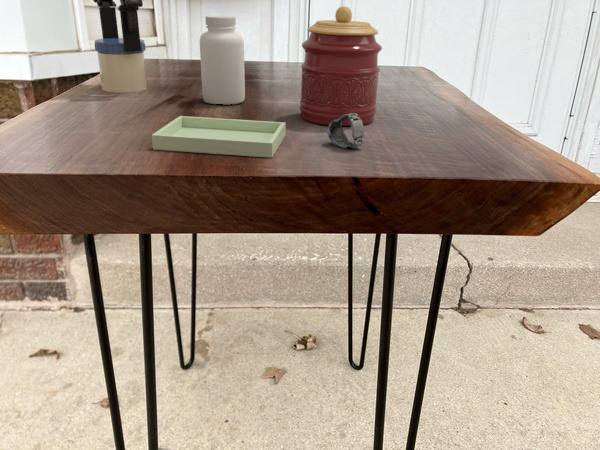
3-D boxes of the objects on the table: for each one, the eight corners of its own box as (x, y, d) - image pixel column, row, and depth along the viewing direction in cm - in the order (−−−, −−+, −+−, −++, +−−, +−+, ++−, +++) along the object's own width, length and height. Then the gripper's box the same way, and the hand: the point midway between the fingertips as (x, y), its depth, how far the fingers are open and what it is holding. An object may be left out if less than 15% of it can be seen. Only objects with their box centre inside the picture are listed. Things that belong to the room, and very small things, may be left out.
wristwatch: (352, 153, 76) (336, 124, 77) (372, 136, 72) (354, 105, 72) (337, 159, 74) (320, 129, 75) (355, 142, 70) (338, 110, 71)
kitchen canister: (384, 127, 85) (396, 9, 78) (305, 127, 83) (309, 7, 76) (364, 109, 97) (373, 5, 89) (294, 109, 95) (297, 3, 88)
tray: (152, 149, 70) (151, 134, 69) (180, 128, 80) (179, 115, 80) (272, 157, 69) (272, 143, 68) (285, 135, 79) (285, 122, 78)
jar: (95, 102, 96) (87, 44, 91) (115, 93, 103) (108, 40, 99) (137, 104, 95) (132, 46, 91) (154, 96, 102) (150, 42, 98)
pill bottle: (194, 100, 100) (189, 14, 93) (228, 95, 105) (226, 14, 98) (218, 107, 94) (215, 18, 88) (253, 102, 99) (253, 17, 93)
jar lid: (86, 52, 92) (85, 41, 91) (108, 46, 99) (107, 37, 99) (133, 54, 91) (132, 44, 90) (152, 48, 99) (151, 39, 98)
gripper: (61, -93, 91) (81, 42, 101) (106, -106, 76) (124, 56, 85) (104, -89, 96) (119, 40, 105) (155, -101, 80) (167, 53, 89)
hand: (121, 47), depth 95 cm, fingers open, 10 cm apart
